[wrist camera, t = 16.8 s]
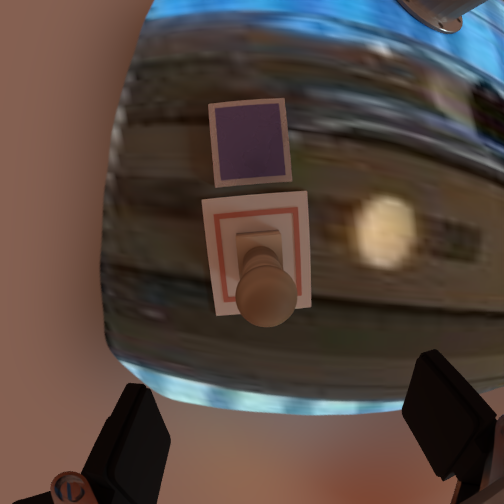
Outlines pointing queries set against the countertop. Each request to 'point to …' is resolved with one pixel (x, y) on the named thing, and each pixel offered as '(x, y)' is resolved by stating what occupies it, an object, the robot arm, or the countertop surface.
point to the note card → (250, 220)
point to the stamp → (263, 279)
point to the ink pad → (249, 142)
